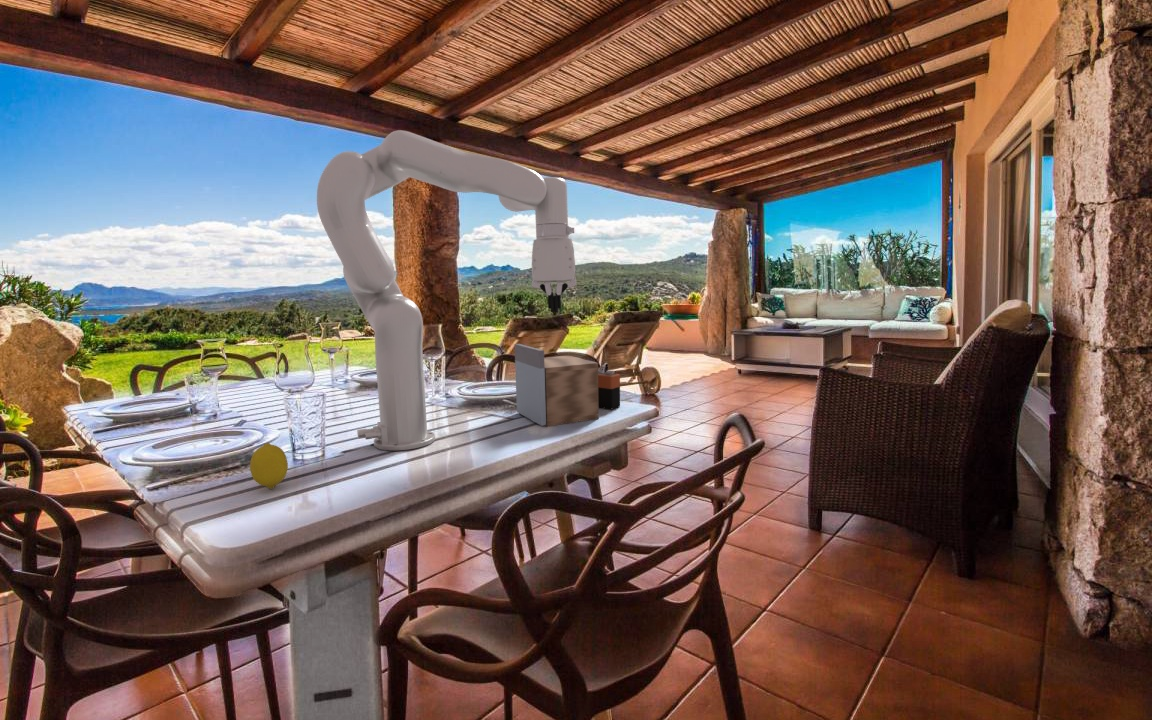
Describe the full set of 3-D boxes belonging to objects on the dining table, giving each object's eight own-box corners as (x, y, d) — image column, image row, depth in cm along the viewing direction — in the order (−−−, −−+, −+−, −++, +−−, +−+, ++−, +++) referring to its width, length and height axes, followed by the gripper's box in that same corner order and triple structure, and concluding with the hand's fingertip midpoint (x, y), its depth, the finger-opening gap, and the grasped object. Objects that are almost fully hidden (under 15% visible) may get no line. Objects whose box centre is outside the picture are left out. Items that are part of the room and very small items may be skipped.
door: (541, 425, 129) (539, 350, 127) (516, 411, 143) (514, 344, 140) (546, 424, 130) (544, 350, 127) (521, 411, 144) (518, 343, 141)
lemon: (250, 497, 90) (245, 450, 89) (255, 485, 95) (250, 441, 94) (288, 491, 92) (284, 445, 91) (290, 480, 97) (286, 436, 96)
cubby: (547, 426, 130) (545, 368, 128) (521, 412, 144) (520, 359, 142) (598, 418, 136) (597, 362, 134) (569, 406, 150) (568, 355, 148)
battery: (611, 410, 145) (611, 372, 143) (591, 406, 149) (590, 370, 148) (620, 407, 148) (620, 370, 147) (600, 403, 152) (600, 368, 151)
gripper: (584, 233, 132) (586, 310, 134) (522, 235, 132) (526, 311, 135) (583, 231, 124) (585, 312, 127) (518, 233, 125) (521, 313, 128)
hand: (554, 311), depth 131 cm, fingers closed
